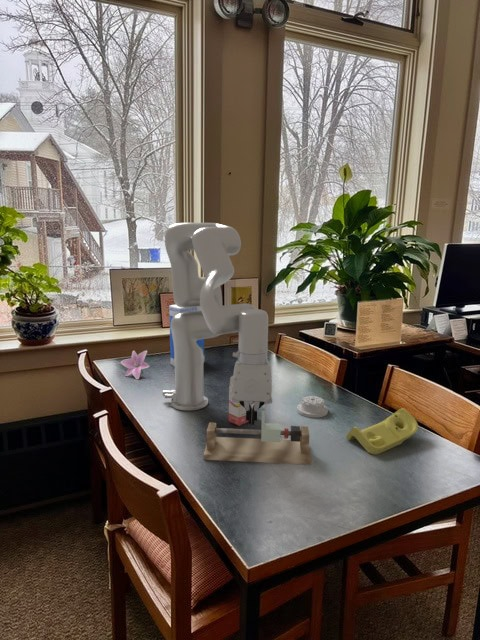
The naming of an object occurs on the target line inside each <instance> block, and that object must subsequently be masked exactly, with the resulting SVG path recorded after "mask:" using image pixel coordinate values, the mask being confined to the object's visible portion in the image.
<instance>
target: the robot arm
mask: <svg viewBox="0 0 480 640" xmlns="http://www.w3.org/2000/svg"><path fill="white" fill-rule="evenodd" d="M164 233H165V234H164V245H165V246H164V247H165V250H166V253H167V256H168V260H169V263H170V268H171V270H170V271H171V285H172V295H173V302H174V305H177V306H178V307H182V308H188V307H199V306H200V307H201V310H200V311H190V312H183V313H179V314H177V315H175V316H174V317H173V318H172V320H171V332H172V337H173V343H174V362H175V366H174V389H172V390H167V389H166V390H165V389H163V390H162V396H163V397H164V399H170V405H171V407H173V408H174V409H175V410H179V411H197V410H200V409H203V408H205V407H207V406H208V404H209V399H208V397H207V396H205V395H204V362H203V352H202V350H201V348H200V347H199V346H198V345H197V343H196V341H197V340H201V339H204V340H206V339H214V338H217V337H219V336H222V335H228V334H235V333H238V346H237V347H238V348H237V349H238V350H237V351H235V352H234V351H233V352H232V358H236V359H237V360H236V361H235V363H234V367H233V372H232V373H233V374H232V376H233V390H232V394H233V397H232V402H235V403H240V404H241V405H242V406H243V407H244V408H245V410H246V420H248V422H247V423H248V426H255V421H256V422H258V418H257V412H258V411H259V409H262V406H263V405H269V404H272V403H273V397H272V393H273V388H272V387H273V385H272V384H273V383H272V381H273V379H272V368H271V363H270V361H269V360H268V353H269V352H268V348H269V347H268V345H269V344H268V343H269V315H268V312H267V311H265V310H263V309H259V308H257V307H256V306H254V305H253V304H251V303H237V304H236V303H235V304H225V305H223V294H222V293H223V291H222V288H221V286H222V285H224V284H225V283H227V282H228V281H230V280H231V278H233V276H234V274H235V267H234V265H233V262H232V260H231V258H230V256H235V255H237V254H238V253H239V252H240V250H241V248H242V241H241V236H240V234H239V232H238V231H237V230H236V229H235V228H234V227H233V226H229V225H225V224H222V223H221V224H220V223H217V222H177V223H174V224H171V225H169V227H168V228H167V229H166V230H165V232H164ZM190 251H194V252H195V254H196V258H197V260H198V262H199V265H200V268H201V271H202V273H203V275H204V276H201V277H200V276H199V265H198V262H197V260H196V258H195V257H194V256H193V254H192V253H191V252H190ZM250 401H252V402H255V404H254V406H253V408H252V407H251V405H250ZM258 413H259V412H258Z"/></svg>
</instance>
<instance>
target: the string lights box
mask: <svg viewBox="0 0 480 640" xmlns="http://www.w3.org/2000/svg"><path fill="white" fill-rule="evenodd" d="M168 308H169V311H168V312H169V347H170V348H169V349H170V365H171V366H172V367H175V362H174V343H173V337H172V332H171V320H172V318H173V317H174V316H175V315H177V314H179V313H183V312H190V311H200V310H201V307H200V306H199V307H188V308H182V307H178V306H177V305H176V304H171V305H169V306H168ZM196 343H197V345H198V346H199V347H200V348H201V350H202V352H203V363H205V361H206V360H205V357H206V356H205V339H201V340H197V341H196Z"/></svg>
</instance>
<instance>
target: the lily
mask: <svg viewBox="0 0 480 640" xmlns="http://www.w3.org/2000/svg"><path fill="white" fill-rule="evenodd" d="M147 354H148V349H147V350H143V351H141V352H140V353H138V354H137V352H136V351H135V350H132V352H131V357H129V358H125V359H122V360H121V361H120V364H121V365H122V366H123V367H125V368H127V370H126V372H125V375H124V377H125V376H127V377H128V376H130V375H133V377H134V378H135V379H136V380H137V379H139V380H140V376H141V372H142V373H143V372H144V371H143V370H144V369H147V368H150V367H151V365H149V364H148V363H147V362H145V358H146V357H147V356H146V355H147Z"/></svg>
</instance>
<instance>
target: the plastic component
mask: <svg viewBox="0 0 480 640" xmlns="http://www.w3.org/2000/svg"><path fill="white" fill-rule="evenodd" d="M418 429H419V424H418V421H417V420H416V419H415V417H414V416H413V415H412V414H411V413H410V412H409V411H408V410H407V409H406V408H404V407H403V408H399V409H398V410H396V411H395V412H393V413H392V414H391V415H390V416H388V417H386V418H385V419H383V420H382V421H380V422H378V423H375V424H373V425H371V426H369V427H366V428H363V429H359V428H358V426H354V427H352V428H351V429H350V430H349V432H348V433H347V434H346V435H345V438H346V439H347V440H349V441H353V440H357V441H358V443H359V444H360V445H361V446H362V448H364V449H365V451H366V452H367V453H369V454H371V455H374V456H375V455H380V454H382V453H384V452H386V451H388V450H390V449H392V448H395V447H397V446H399V445H401V444H402V443H403V442H404V441H406V440H408V439H410V438H411V437H412V436H413V435H414V434H415V433H416V432H418Z"/></svg>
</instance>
